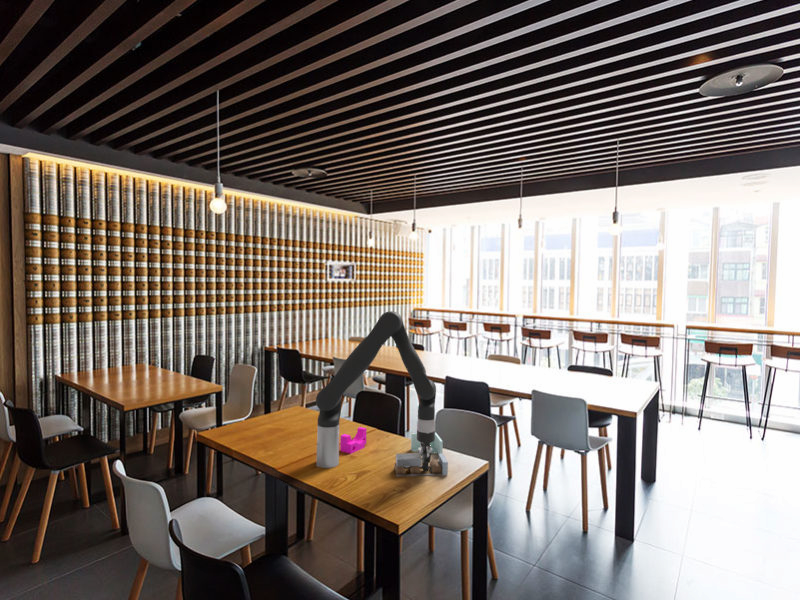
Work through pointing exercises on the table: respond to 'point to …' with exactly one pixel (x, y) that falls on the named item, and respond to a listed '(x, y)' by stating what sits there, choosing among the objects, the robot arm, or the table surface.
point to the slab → (408, 460)
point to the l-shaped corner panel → (435, 445)
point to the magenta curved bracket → (353, 441)
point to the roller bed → (416, 471)
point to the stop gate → (443, 464)
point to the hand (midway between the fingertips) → (425, 470)
